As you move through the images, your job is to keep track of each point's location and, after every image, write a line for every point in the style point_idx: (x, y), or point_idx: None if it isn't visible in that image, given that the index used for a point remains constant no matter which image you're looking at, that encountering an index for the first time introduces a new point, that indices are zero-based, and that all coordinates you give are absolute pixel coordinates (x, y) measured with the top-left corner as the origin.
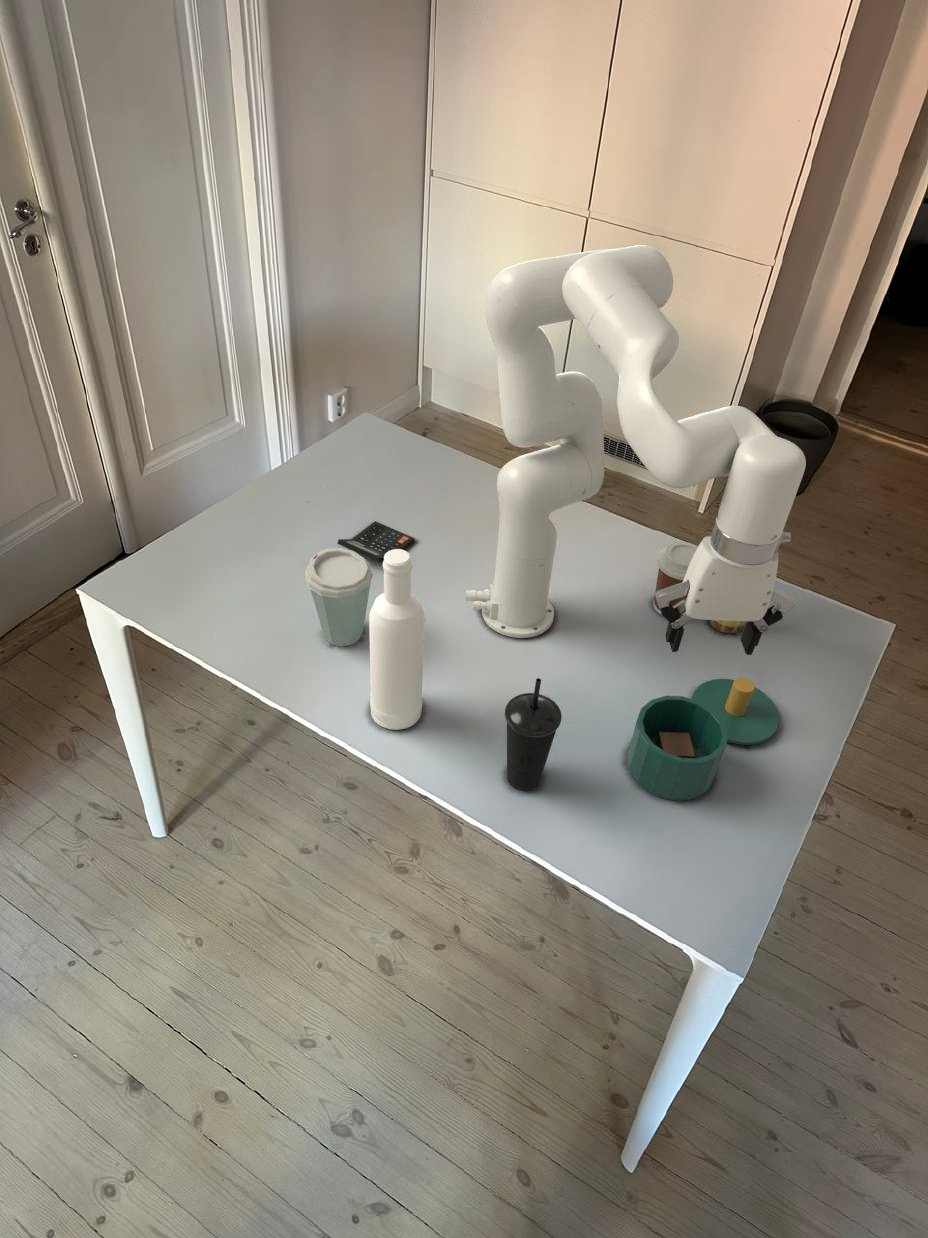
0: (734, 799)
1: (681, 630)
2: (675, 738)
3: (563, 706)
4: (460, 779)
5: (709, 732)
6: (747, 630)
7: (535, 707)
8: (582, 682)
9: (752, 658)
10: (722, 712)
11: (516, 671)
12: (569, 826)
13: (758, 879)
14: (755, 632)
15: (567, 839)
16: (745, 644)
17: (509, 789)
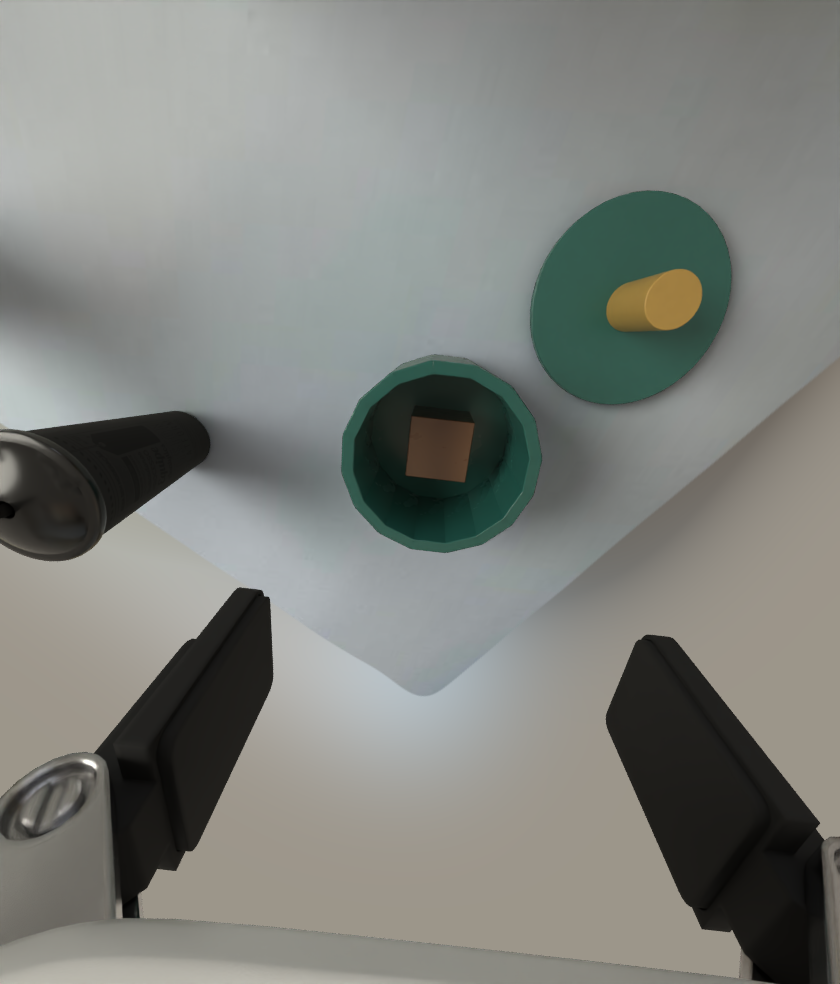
0: None
1: (166, 867)
2: (441, 435)
3: (257, 257)
4: None
5: (516, 431)
6: (686, 770)
7: (2, 518)
8: (306, 170)
9: (792, 83)
10: (595, 315)
11: (144, 114)
12: (255, 530)
13: (497, 622)
14: (704, 922)
15: (252, 548)
16: (630, 718)
17: None
